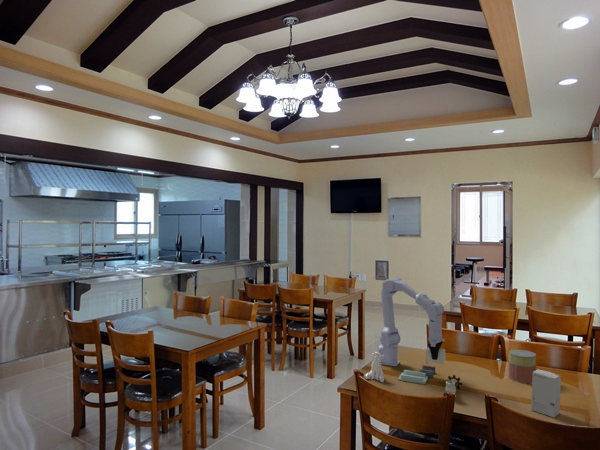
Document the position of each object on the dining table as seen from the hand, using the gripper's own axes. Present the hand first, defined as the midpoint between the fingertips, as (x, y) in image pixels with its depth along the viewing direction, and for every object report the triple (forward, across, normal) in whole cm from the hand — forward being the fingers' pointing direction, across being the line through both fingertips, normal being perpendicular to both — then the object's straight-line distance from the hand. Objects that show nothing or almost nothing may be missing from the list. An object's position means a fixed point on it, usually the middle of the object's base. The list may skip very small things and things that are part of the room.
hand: (435, 358), depth 192 cm
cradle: (+9, -7, +9) cm, 14 cm away
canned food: (+9, +14, -36) cm, 40 cm away
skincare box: (+9, -20, -43) cm, 48 cm away
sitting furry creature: (+9, -13, +25) cm, 30 cm away
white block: (+2, 0, 0) cm, 2 cm away
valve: (+9, -18, -9) cm, 22 cm away
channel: (+9, +2, +4) cm, 10 cm away
